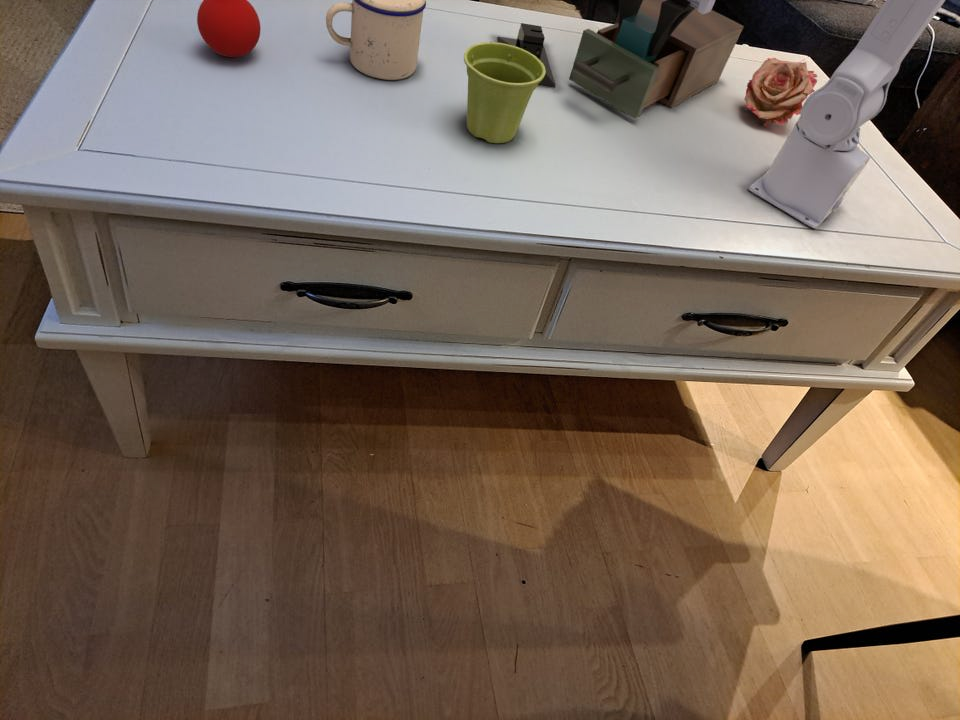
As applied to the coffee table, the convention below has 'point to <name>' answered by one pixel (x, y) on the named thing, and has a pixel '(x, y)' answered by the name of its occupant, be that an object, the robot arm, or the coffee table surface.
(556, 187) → the coffee table surface
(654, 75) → the drawer
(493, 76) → the plant pot
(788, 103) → the flower
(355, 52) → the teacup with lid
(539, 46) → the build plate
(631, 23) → the block
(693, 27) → the cabinet
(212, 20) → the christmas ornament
